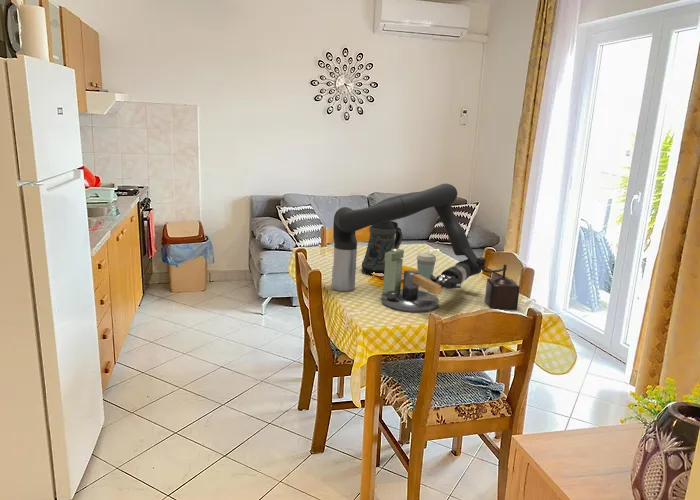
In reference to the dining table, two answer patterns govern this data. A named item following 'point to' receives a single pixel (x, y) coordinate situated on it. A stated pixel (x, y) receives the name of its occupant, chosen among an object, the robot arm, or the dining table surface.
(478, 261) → the manual coffee grinder
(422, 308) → the base
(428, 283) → the wooden handled mallet
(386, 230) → the beer stein
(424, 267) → the coffee cup
